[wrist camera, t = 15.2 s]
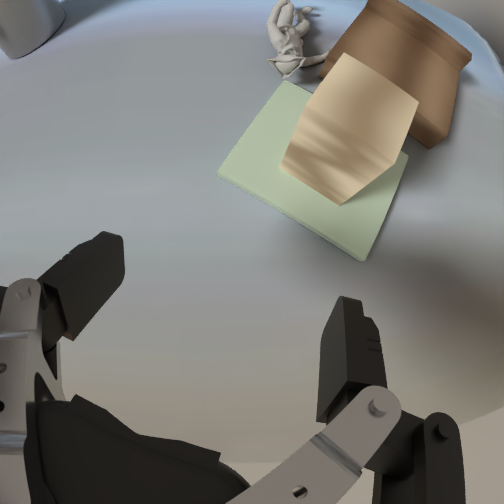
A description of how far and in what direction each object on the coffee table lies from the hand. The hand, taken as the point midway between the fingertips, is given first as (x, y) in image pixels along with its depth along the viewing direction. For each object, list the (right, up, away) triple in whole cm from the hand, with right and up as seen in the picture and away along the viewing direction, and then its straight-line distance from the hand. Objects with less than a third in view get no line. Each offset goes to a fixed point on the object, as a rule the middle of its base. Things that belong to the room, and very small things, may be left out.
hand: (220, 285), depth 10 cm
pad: (+6, +8, +11) cm, 15 cm away
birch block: (+6, +8, +10) cm, 15 cm away
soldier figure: (+5, +21, +13) cm, 25 cm away
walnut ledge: (+15, +18, +13) cm, 27 cm away
